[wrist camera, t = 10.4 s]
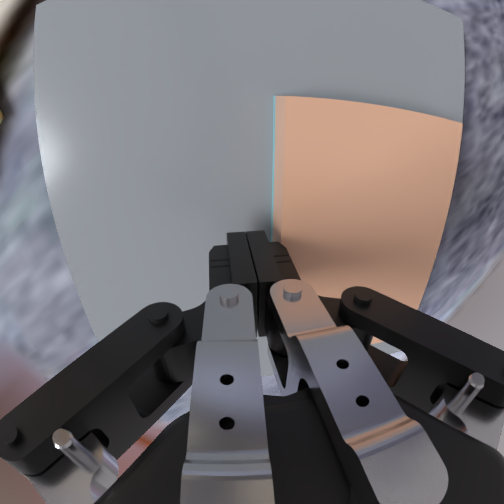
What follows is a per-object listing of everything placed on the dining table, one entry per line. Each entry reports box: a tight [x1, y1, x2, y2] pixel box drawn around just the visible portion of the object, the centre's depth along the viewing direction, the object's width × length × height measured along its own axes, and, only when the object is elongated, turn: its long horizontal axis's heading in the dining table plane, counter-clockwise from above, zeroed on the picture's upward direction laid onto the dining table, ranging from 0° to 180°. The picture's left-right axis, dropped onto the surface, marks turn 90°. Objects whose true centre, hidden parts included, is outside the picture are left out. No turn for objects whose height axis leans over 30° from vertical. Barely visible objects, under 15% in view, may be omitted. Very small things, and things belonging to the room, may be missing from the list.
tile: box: [271, 96, 463, 344], centre depth 13 cm, size 12×2×8 cm
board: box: [33, 0, 465, 376], centre depth 13 cm, size 22×20×1 cm
